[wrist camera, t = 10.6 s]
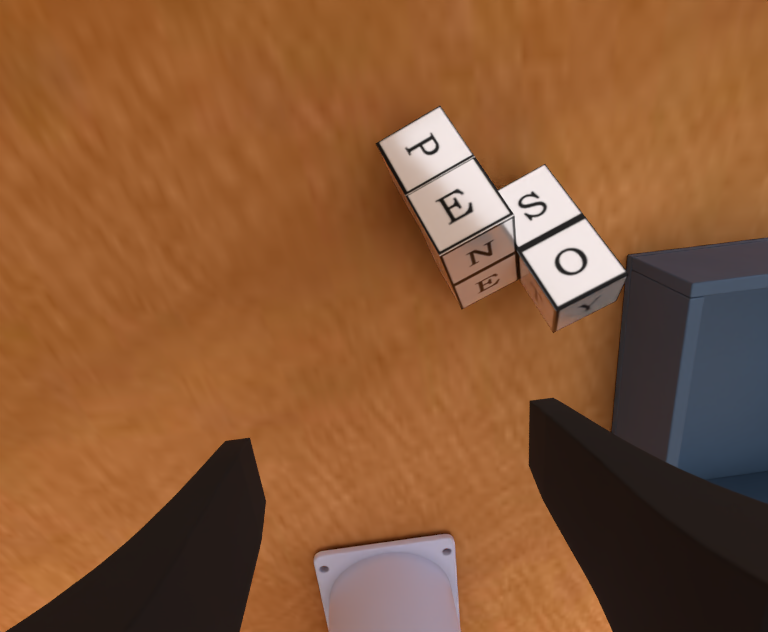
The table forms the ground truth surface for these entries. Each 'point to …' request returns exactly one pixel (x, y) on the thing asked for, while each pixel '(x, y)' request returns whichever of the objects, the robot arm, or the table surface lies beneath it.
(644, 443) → the open box
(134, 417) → the table surface
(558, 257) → the building blocks
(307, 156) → the table surface
